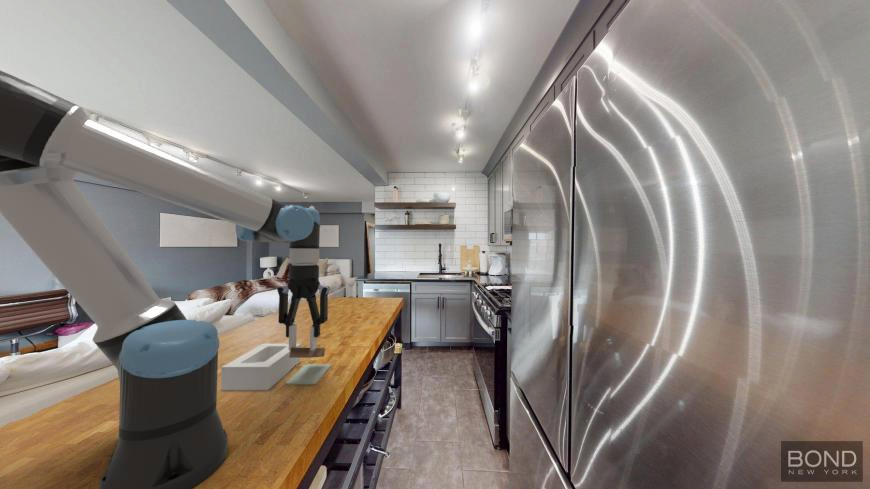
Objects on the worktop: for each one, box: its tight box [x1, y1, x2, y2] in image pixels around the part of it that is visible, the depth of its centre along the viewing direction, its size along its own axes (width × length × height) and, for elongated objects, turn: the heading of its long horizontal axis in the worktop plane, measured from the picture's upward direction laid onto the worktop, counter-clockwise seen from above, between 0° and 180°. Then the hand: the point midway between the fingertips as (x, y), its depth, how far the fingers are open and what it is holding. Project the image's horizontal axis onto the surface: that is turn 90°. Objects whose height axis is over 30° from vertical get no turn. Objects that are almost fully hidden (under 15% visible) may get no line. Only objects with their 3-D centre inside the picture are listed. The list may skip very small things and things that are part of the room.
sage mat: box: [285, 363, 332, 386], centre depth 81 cm, size 12×8×1 cm, turn 1°
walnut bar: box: [289, 347, 326, 359], centre depth 80 cm, size 12×5×2 cm, turn 2°
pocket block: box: [220, 343, 302, 391], centre depth 80 cm, size 18×12×6 cm, turn 1°
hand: (303, 348), depth 76 cm, fingers closed on walnut bar, 5 cm apart
